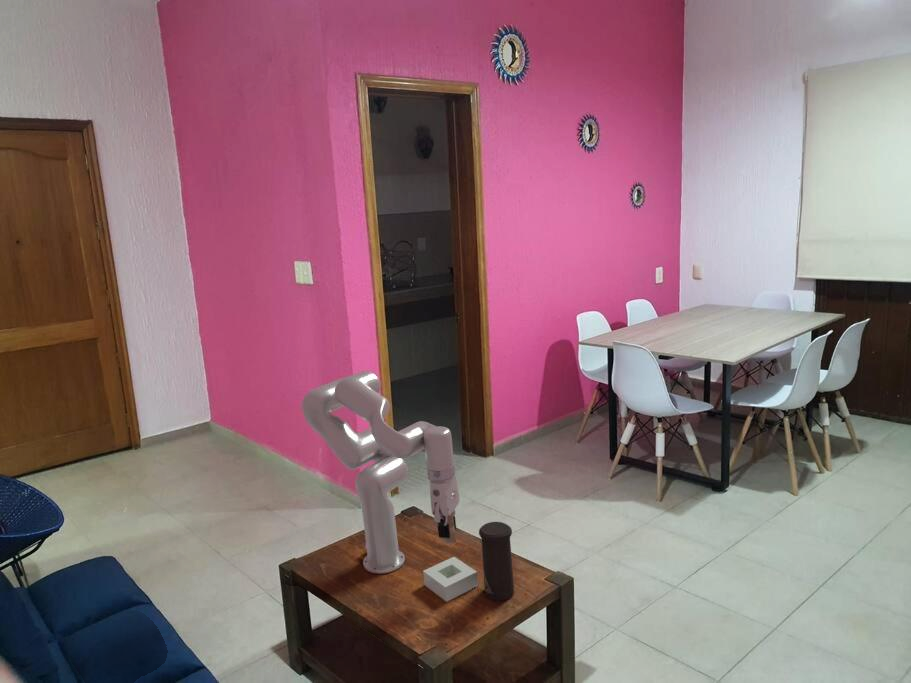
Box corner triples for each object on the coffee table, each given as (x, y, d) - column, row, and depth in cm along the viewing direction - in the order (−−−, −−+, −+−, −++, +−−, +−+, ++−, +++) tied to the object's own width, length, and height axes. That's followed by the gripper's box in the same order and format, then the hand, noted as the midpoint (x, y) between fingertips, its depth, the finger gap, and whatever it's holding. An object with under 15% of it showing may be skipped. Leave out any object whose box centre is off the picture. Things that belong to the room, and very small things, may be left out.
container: (495, 579, 196) (491, 516, 191) (521, 589, 190) (517, 524, 185) (477, 595, 189) (472, 529, 185) (503, 605, 183) (499, 538, 179)
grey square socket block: (424, 584, 196) (423, 570, 195) (455, 570, 202) (454, 556, 201) (446, 601, 187) (445, 587, 186) (478, 585, 193) (477, 571, 192)
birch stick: (446, 545, 189) (443, 515, 187) (441, 540, 192) (438, 511, 190) (455, 541, 190) (452, 511, 188) (450, 537, 193) (447, 508, 191)
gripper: (443, 485, 178) (449, 549, 182) (464, 460, 193) (469, 519, 197) (416, 484, 180) (423, 547, 184) (439, 459, 195) (445, 517, 199)
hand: (447, 532), depth 190 cm, fingers closed on birch stick, 4 cm apart
